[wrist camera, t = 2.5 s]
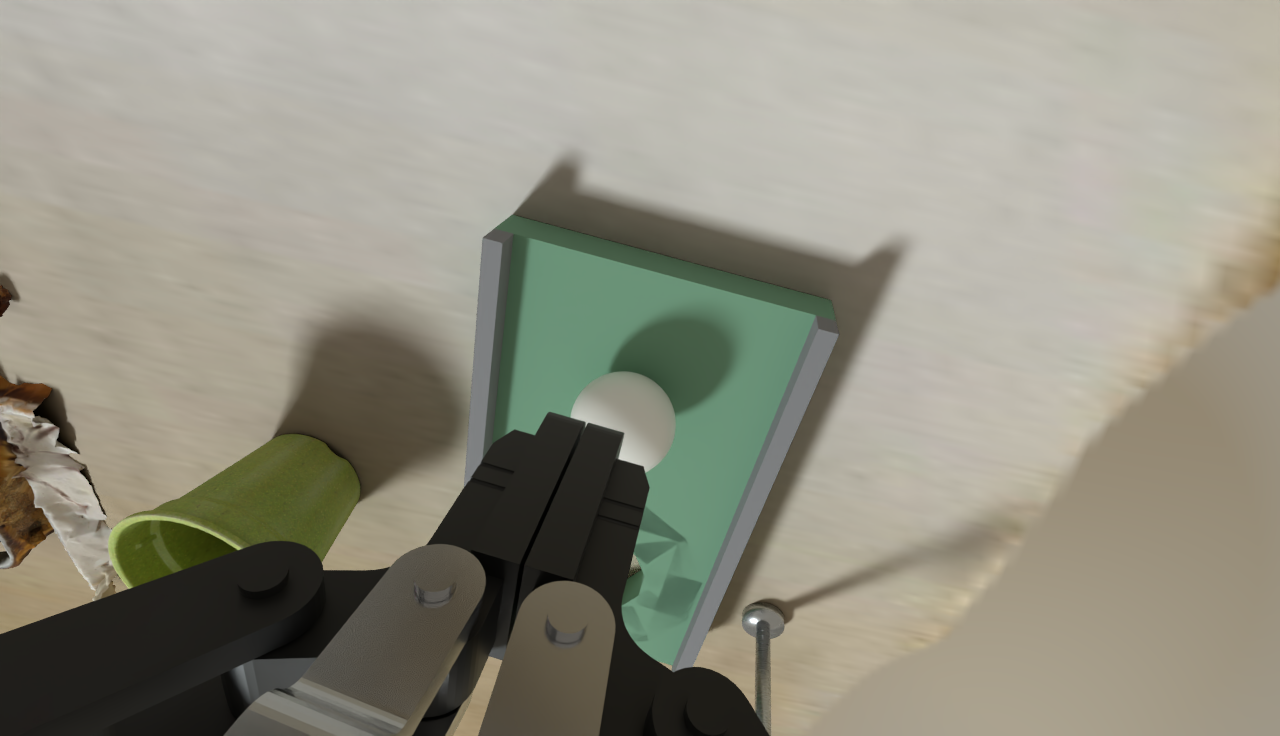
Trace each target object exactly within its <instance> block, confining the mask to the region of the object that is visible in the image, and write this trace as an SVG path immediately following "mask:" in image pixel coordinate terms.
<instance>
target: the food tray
mask: <svg viewBox="0 0 1280 736" xmlns="http://www.w3.org/2000/svg"><path fill="white" fill-rule="evenodd" d="M11 296H12V295H10V294H9V292H8V290H7V289H3V288H2V285H1V286H0V317H2V316H3V315H2V314H3V313H4V312H5V311H6V310H7V308H8V306H9V305H10V303H9V300H11ZM51 390H52V388H50V387H48V386H46V385H44V384H42V383H41V384H29V383H23V384H21V385H15V384H12V383H9V382H8V381H7V380H5V379H4V378H3V377H2V376H1V375H0V542H2V544H3V546H4V548H5V549H6V551H4V552H0V569H9V568H13V567H16V566H19V565H20V563H21V562H22V560H23V559H24V558H25V557H26V556H27V555H28V554H29V553H30V551H31V550H32V548H34V547H36V546H37V545H38V544H39V543H40V542H42V541H43V540H45V539H46V536H48V535H49V534H51V533H53V532H54V530H55V534H57V533H58V538H59V539H60V542H62V544H63V546H64V547H65V549H64V550H67V552H68V555H69V556H70V557H71V559H72V561H73V562H74V564H75V566H76V567H77V569H78V570H79V571H78V572H80V573H81V574H82V575H83V577H84V578H83V579H86V580H87V581H88V582H89V585H88V586H91V589H93V590H94V591H95V590H96V589H97V590H96V592H95V594H96V596H95V597H93V601H96V600H99V599H102V598H105V597H107V596H110V595H113V594H116V592H115V587H116V586H115V585H113V581H111V580H112V579H113V578H115V576H116V575H117V572H116V571H115V569H114V567H113V565H112V561H111V559H110V555H109V551H108V540H109V536H110V533H111V531H112V529H110V528H109V527H108V526H107V525H106V523H105V522H104V521H103V520H105V518H106V516H105V515H104V514H103V512H102V511H101V508H100V505H98V504H99V501H98V500H97V498H96V496H95V495H94V493H93V490H92V486H91V485H89V482H88V481H87V479H85V477H84V476H83V475H81V473H80V470H82V469H84V468H85V467H84V466H82V465H81V464H79V463H77V462H75V461H74V460H72V459H71V458H70V456H69V454H70V453H76V452H74V451H71V450H70V449H69V448H67V447H66V446H64V445H63V444H61V443H59V442H58V441H57V440H56V439H57V438H58V434H59V427H56V426H55V425H54V424H52V423H50V421H49V420H48V419H45V418H41V417H40V416H34V413H33V410H34V409H36V408H37V406H38V405H40V404H41V403H42V401H43V400H44V398H47V397H48V396H49V394H50V392H51ZM77 454H78V453H77Z"/></svg>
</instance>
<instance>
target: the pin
mask: <svg viewBox="0 0 1280 736" xmlns="http://www.w3.org/2000/svg"><path fill="white" fill-rule="evenodd" d="M742 626H743V628H744V630H745V631H746V632H747V633H748V634H750V635H751V636H753V637H756V666H755V713H756V714H757V716H758V717H759V719H760V721H761V722H762V724H763V725H764V727H765V729H766V730H767V732H768V734H769V735H770V736H771V667H770V639H772V638H775V637H778V636H779V635H781V634H782V632H783V631H784V615H783V613H782V612H781V610H780V609H778V608H777V607H775V606H773V605H771V604H767V603H754V604H751V605H749V606H747V607H746V608H745V609H744V611H743V614H742Z"/></svg>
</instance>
